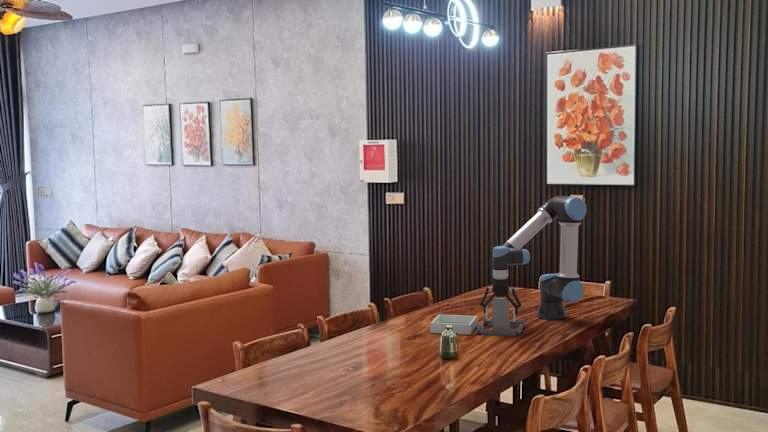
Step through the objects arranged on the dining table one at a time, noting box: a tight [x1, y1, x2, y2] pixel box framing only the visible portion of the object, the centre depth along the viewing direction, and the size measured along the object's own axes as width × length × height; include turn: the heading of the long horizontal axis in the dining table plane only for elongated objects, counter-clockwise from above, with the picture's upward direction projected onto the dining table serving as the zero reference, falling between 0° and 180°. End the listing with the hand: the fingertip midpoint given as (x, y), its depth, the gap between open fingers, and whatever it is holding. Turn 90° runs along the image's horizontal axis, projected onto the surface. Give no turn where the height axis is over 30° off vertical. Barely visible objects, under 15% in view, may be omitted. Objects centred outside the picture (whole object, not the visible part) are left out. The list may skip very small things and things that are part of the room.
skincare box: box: [491, 297, 511, 330], centre depth 373 cm, size 8×7×16 cm
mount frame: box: [476, 316, 525, 337], centre depth 373 cm, size 21×21×4 cm
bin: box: [429, 314, 479, 336], centre depth 378 cm, size 20×20×5 cm
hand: (500, 320), depth 373 cm, fingers open, 13 cm apart
